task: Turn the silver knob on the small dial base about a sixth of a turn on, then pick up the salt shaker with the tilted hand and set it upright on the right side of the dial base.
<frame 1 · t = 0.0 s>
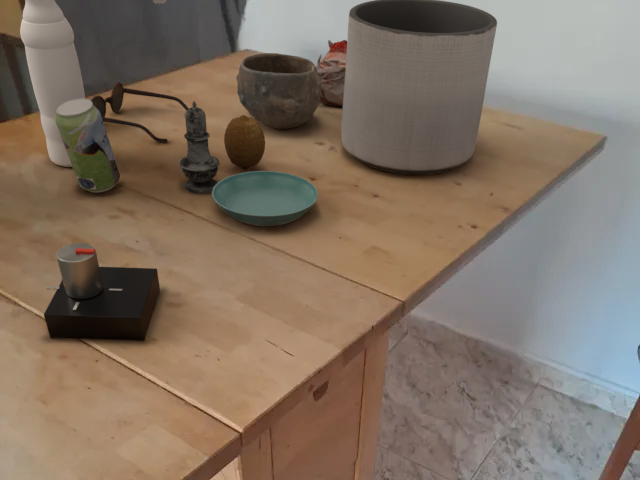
food item: (338, 98, 133), on the table
saucer: (265, 211, 97), on the table
fruit: (245, 169, 107), on the table
planter: (406, 153, 114), on the table
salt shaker: (201, 187, 102), on the table
eyeglasses: (145, 125, 119), on the table
water bottle: (74, 160, 108), on the table
dial base: (107, 313, 77), on the table
beverage can: (97, 189, 100), on the table
bowl: (277, 124, 122), on the table
hob knob: (80, 269, 73), point 5 cm above the table, hinge at 0.0°
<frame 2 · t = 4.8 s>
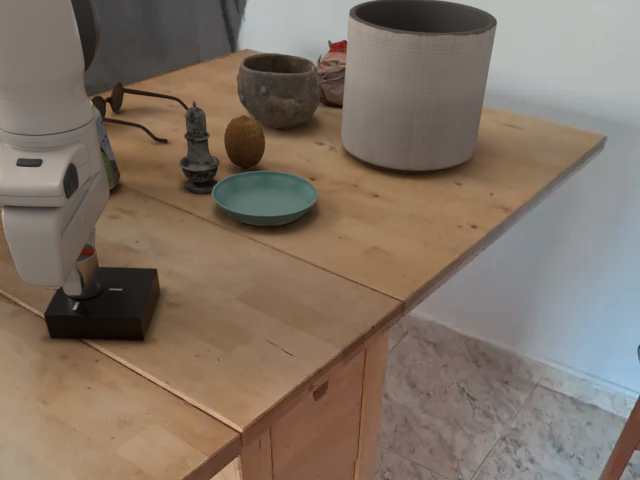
hand: (81, 278, 74), 4 cm above the table, tool pointing down, fingers closed on hob knob, 4 cm apart
hob knob: (80, 269, 73), point 5 cm above the table, hinge at 0.0°, touching gripper
everything else where it was.
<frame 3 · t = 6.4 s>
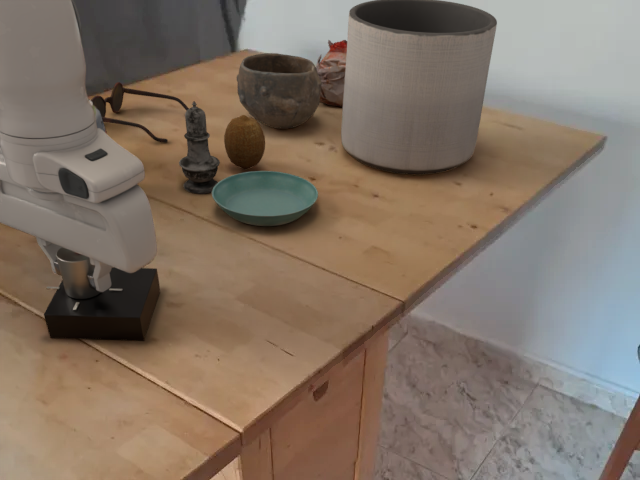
hand: (82, 280, 74), 4 cm above the table, tool pointing down, fingers closed on hob knob, 4 cm apart
hob knob: (80, 269, 73), point 5 cm above the table, hinge at 60.8°, touching gripper
everything else where it was.
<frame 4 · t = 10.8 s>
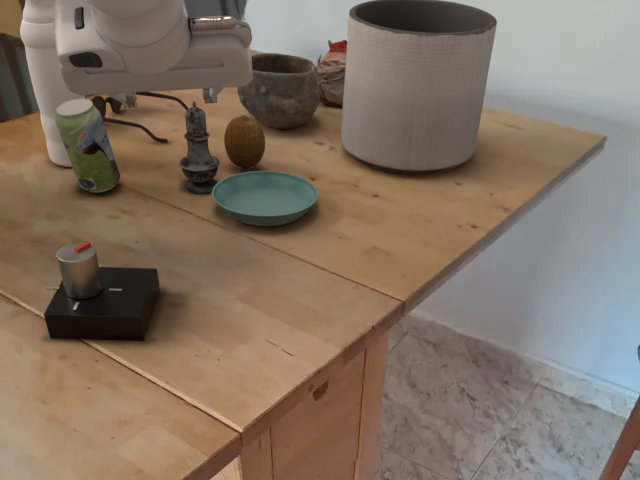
hand: (170, 100, 81), 16 cm above the table, tool tilted 45°, fingers open, 8 cm apart
hob knob: (80, 269, 73), point 5 cm above the table, hinge at 60.9°
everything else where it was.
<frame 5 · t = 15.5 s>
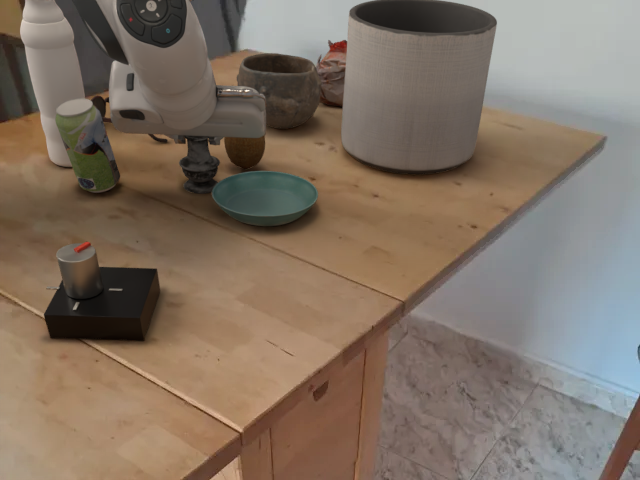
hand: (198, 139, 98), 7 cm above the table, tool tilted 45°, fingers closed on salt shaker, 3 cm apart
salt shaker: (201, 187, 102), on the table, touching gripper
everything else where it was.
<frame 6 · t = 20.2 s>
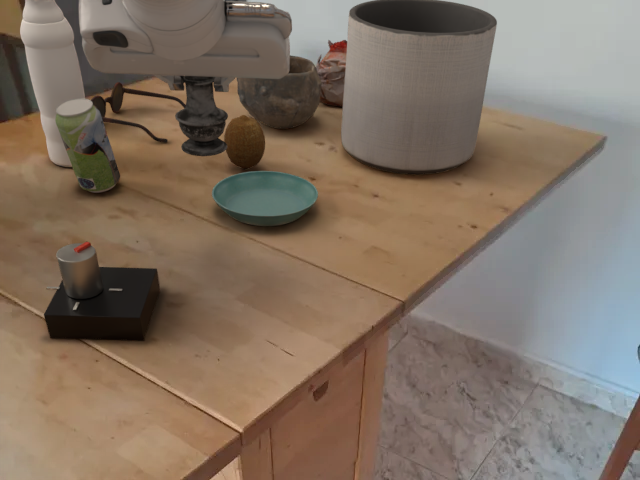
hand: (199, 85, 76), 20 cm above the table, tool tilted 45°, fingers closed on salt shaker, 3 cm apart
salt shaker: (204, 149, 80), point 13 cm above the table, touching gripper
everything else where it was.
when the fingers open (7 cm above the table, at t = 25.5 s): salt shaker stays where it is, on the table.
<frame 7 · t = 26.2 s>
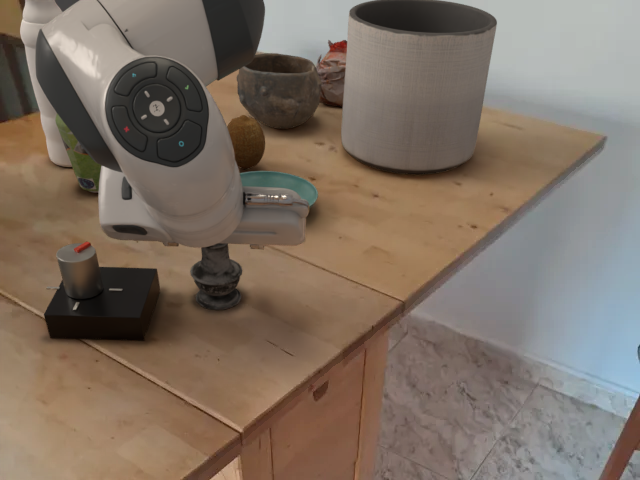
hand: (215, 241, 76), 7 cm above the table, tool tilted 45°, fingers open, 8 cm apart
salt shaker: (218, 298, 80), on the table
everything else where it was.
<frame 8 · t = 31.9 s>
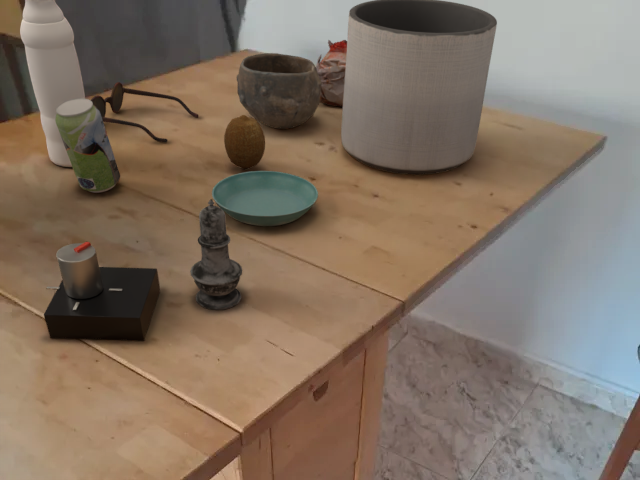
nothing on the table moved.
at the end: hob knob at +61° (first picture: +0°); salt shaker inside the target area (0.0 cm from its centre), on the table; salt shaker tilted 0° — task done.
